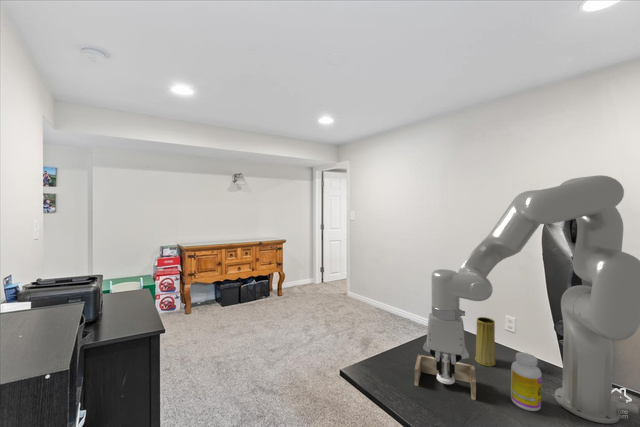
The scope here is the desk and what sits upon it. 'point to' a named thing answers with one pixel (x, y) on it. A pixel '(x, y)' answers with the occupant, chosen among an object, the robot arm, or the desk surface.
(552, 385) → the desk surface
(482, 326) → the vase
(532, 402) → the supplement bottle
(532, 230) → the robot arm
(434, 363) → the open-side wooden frame
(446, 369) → the chess piece
